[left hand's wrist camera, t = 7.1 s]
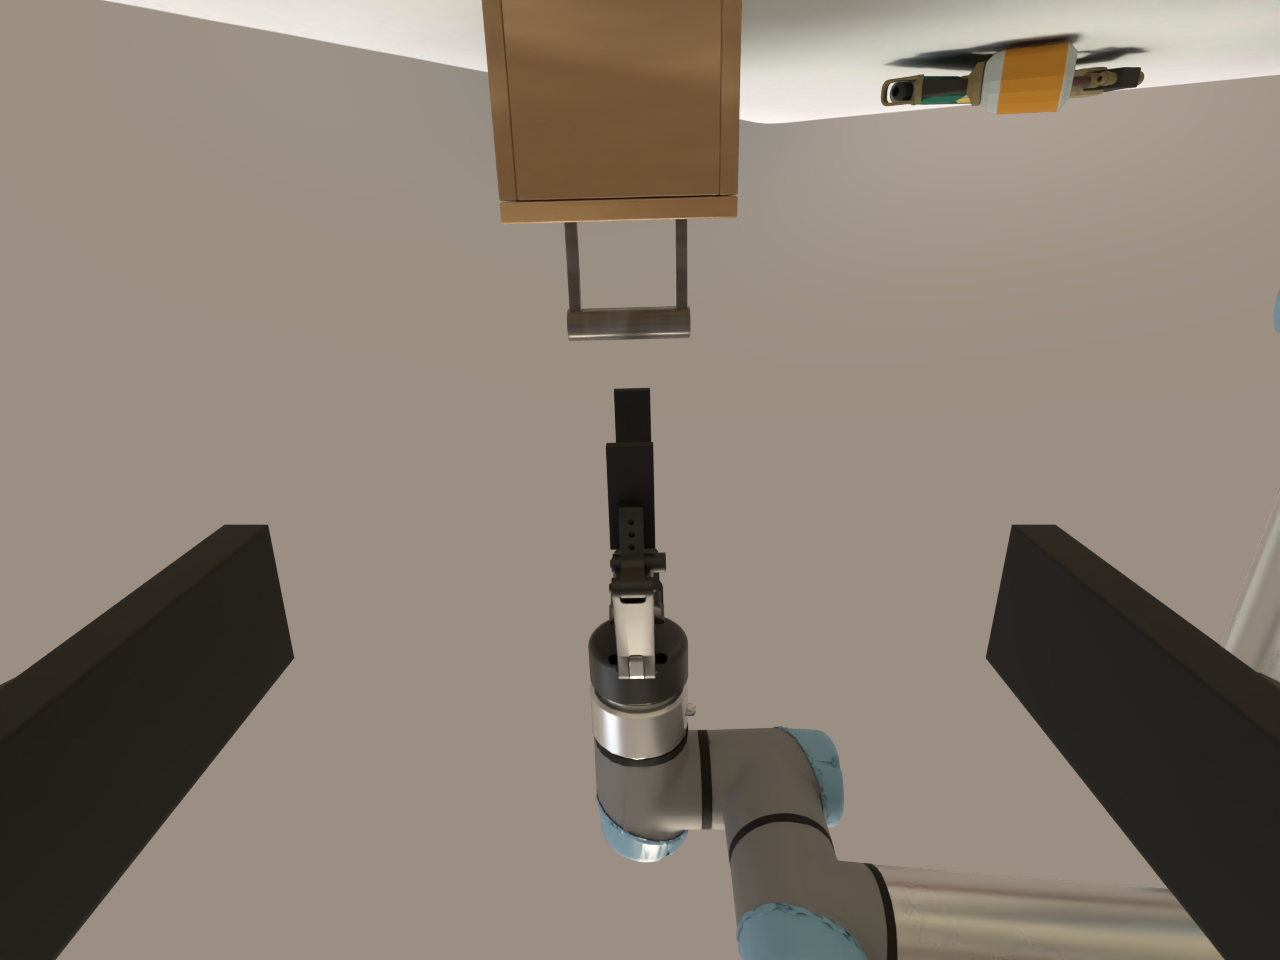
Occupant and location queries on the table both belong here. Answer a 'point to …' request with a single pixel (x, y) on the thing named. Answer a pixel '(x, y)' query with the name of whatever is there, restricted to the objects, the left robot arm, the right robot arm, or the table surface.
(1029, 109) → the spray gun
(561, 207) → the lid
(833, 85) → the table surface
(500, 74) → the chest
